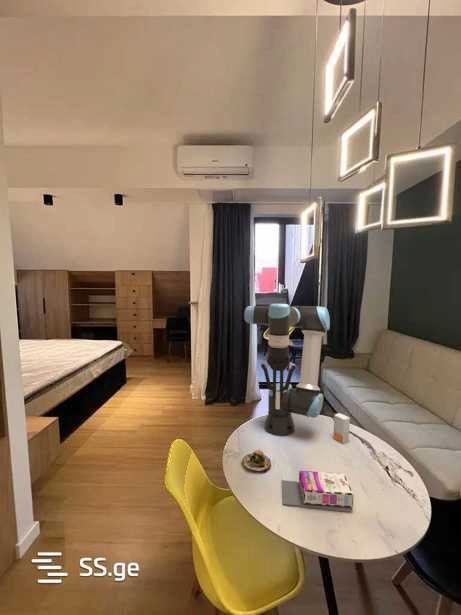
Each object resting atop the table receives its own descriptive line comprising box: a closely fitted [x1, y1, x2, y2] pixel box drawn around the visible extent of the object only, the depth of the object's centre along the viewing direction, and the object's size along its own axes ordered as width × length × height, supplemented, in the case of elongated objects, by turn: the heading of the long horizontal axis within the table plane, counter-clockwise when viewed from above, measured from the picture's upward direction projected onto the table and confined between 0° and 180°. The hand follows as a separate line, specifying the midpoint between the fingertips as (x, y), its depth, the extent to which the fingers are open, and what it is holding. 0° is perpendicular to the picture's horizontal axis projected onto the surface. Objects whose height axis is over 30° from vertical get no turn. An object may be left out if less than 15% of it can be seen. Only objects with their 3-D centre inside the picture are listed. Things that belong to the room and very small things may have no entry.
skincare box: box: [332, 412, 351, 445], centre depth 139 cm, size 6×4×12 cm
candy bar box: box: [298, 470, 354, 508], centre depth 103 cm, size 11×5×16 cm
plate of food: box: [241, 448, 272, 473], centre depth 121 cm, size 12×12×8 cm
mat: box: [281, 479, 352, 513], centre depth 103 cm, size 12×22×1 cm, turn 82°
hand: (277, 407), depth 110 cm, fingers closed
